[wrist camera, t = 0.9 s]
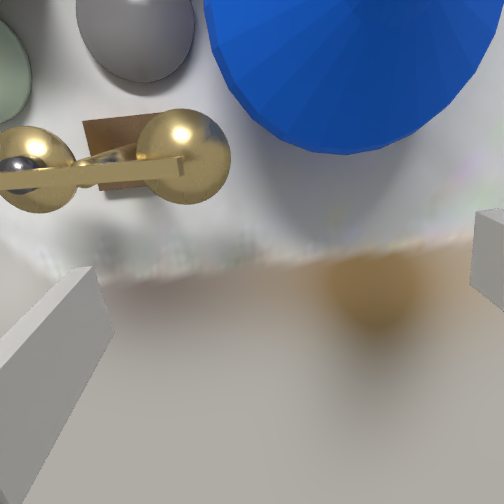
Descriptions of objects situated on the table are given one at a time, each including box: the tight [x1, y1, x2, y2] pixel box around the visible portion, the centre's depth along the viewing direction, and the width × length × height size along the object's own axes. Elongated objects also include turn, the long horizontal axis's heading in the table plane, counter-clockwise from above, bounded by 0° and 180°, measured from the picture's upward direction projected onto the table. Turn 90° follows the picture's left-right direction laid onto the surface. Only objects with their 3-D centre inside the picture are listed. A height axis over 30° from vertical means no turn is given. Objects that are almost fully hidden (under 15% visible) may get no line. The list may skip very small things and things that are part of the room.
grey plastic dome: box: [76, 0, 194, 82], centre depth 30 cm, size 9×9×1 cm
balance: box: [0, 109, 231, 213], centre depth 27 cm, size 6×17×15 cm, turn 96°
